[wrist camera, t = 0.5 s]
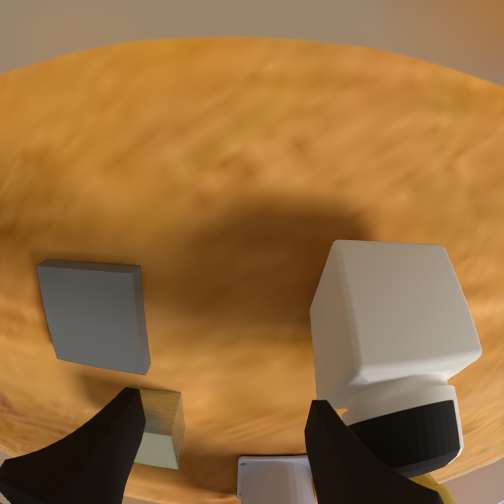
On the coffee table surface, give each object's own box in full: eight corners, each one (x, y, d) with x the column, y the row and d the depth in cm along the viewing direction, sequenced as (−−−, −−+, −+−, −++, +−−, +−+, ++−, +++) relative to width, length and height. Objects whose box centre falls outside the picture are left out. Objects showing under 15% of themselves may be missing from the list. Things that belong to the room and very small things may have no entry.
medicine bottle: (307, 308, 21) (319, 488, 13) (332, 236, 15) (366, 493, 8) (400, 306, 21) (427, 466, 13) (445, 241, 16) (504, 447, 8)
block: (152, 360, 23) (145, 375, 21) (67, 346, 22) (57, 358, 21) (142, 263, 20) (133, 273, 18) (50, 257, 20) (36, 265, 18)
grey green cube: (186, 427, 24) (178, 469, 20) (138, 420, 24) (124, 460, 19) (182, 391, 23) (171, 436, 18) (129, 384, 23) (110, 425, 18)
